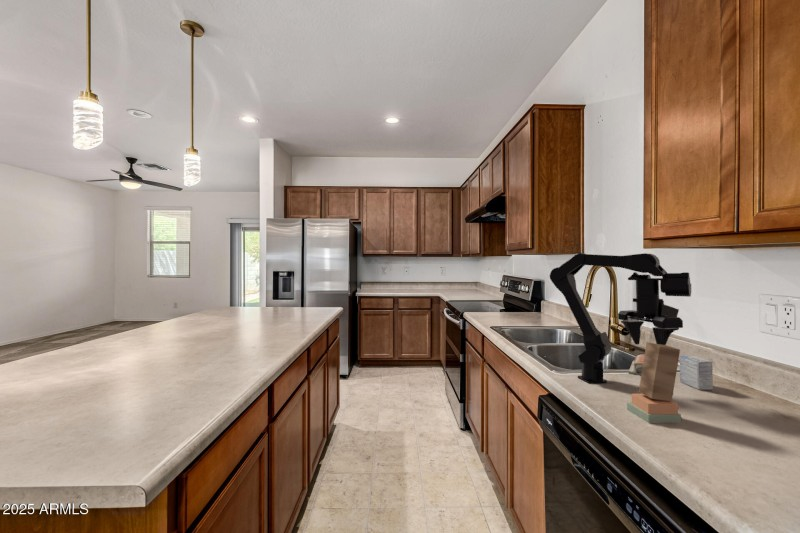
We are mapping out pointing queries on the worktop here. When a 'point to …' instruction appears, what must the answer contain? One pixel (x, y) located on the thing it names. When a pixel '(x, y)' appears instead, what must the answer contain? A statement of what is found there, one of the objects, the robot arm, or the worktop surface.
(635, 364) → the packaged product
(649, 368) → the walnut block
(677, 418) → the tower base
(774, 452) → the worktop surface
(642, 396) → the tower top
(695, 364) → the medicine box
